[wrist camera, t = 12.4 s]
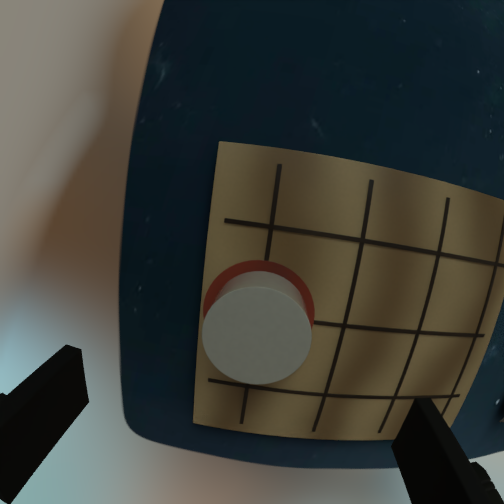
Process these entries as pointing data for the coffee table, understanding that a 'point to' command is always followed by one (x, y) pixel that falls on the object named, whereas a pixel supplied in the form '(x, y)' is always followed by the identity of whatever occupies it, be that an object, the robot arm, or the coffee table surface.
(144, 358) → the coffee table surface
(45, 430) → the robot arm
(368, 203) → the board
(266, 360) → the gray cylinder
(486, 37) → the coffee table surface
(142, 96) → the coffee table surface
